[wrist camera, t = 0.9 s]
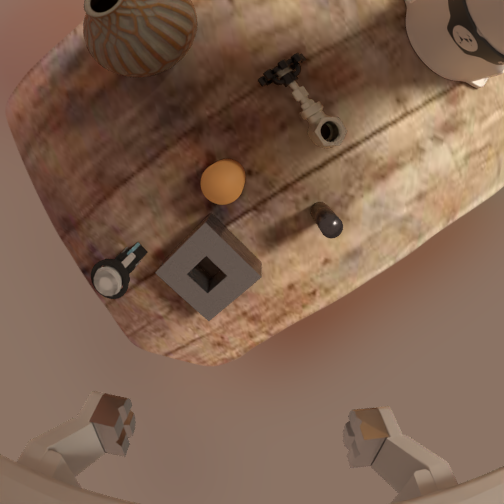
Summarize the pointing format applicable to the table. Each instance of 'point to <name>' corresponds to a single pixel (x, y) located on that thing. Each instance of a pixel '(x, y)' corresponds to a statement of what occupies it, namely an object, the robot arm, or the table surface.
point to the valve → (305, 102)
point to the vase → (139, 34)
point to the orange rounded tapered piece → (223, 181)
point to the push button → (116, 272)
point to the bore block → (198, 280)
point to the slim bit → (326, 220)
